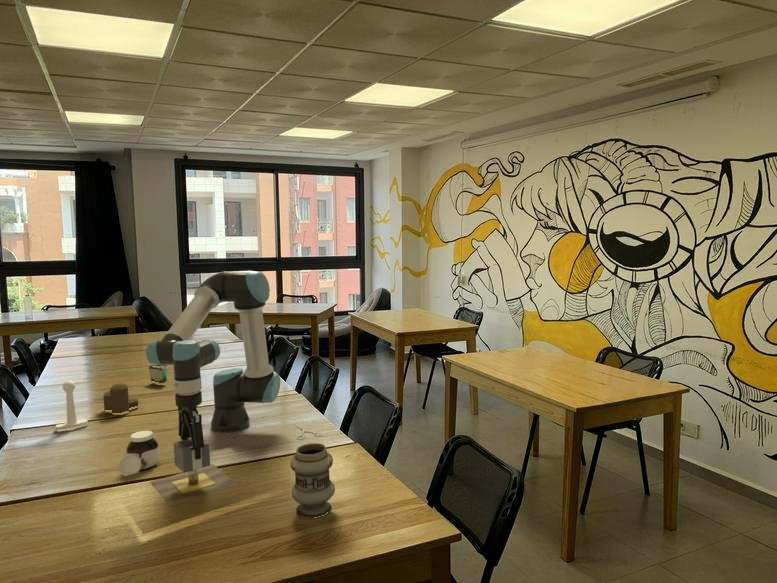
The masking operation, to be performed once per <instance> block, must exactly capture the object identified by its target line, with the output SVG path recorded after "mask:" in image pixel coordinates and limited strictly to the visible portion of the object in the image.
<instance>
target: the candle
mask: <svg viewBox="0 0 777 583" xmlns="http://www.w3.org/2000/svg"><path fill="white" fill-rule="evenodd" d="M138 404H139V398H129V386H128V385H127V384H126V383H121V382H120V380H118V383H115V384H113V385H112V386H111V387H110V390H108V391H105V392H104V394H103V406H104V407H103V408H104V411H105V410H112V413H122V412H125V411H129V408H131V407H135V406H138ZM112 413H111V414H112Z"/></svg>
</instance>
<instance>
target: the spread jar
mask: <svg viewBox="0 0 777 583" xmlns="http://www.w3.org/2000/svg"><path fill="white" fill-rule="evenodd" d="M125 449H126V451H125V455H126V456H124V457H122V458H121V460H120V462H119V464H118V465H119V466H118V469H119V472H120V474H121V475H122V476H124V477H127V476H130V475H134V474H137V473H142V472H144V471H145V472H146V471H149V470H152V468H153V469H154V468H155V467H156V466H157V465H158V464H159V461H160V447H159V442H158V441H157V439H155V438H154V434H153V432H152V431H150V430H141V431H136V432H133V433H132V434H130V442H129V443H128V444H127V446H126V448H125Z"/></svg>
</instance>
